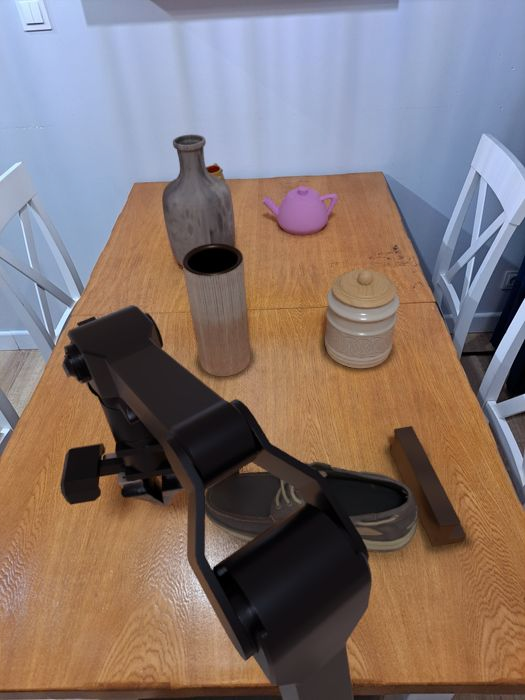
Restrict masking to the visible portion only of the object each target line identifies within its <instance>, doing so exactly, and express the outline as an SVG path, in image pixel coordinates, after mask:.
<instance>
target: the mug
mask: <svg viewBox="0 0 525 700" xmlns="http://www.w3.org/2000/svg"><path fill="white" fill-rule="evenodd" d="M206 169H207V171H208V172H209V173H210V174H211V175H214V176H216V177H219V178H220V179H222V180H223V181H225V182H226V178H225V176H224V173H223V172H224V169H223V168H221V166H220V165H219V164H218V163H216V162H213V164H210V165H208V166H206Z"/></svg>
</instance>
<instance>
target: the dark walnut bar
mask: <svg viewBox="0 0 525 700" xmlns="http://www.w3.org/2000/svg"><path fill="white" fill-rule="evenodd" d="M393 434H394V436H393V438H392V444H391V449H390V453H391V456H392V458H393V460H394V462H395V465H396V467H397V469H398V471H399V474H400V477H401V478H402V481H403V484H405V485H406V486H407V487H408V488H409V489H410V490H411V492H412V494H413V496H414V498H415V501H416V504H417V508H418V517H419V519H420V522H421V524H422V526H423V528H424V531H425V532H426V535H427V537H428V539H429V542H430V544H431V546H432V548H437V547H443V546H448V545H452V544H458V543H459V544H460V543H464V542H465V539H466V538H467V534H466V533H465V531H464V528H463V527H462V525H461V520H460V518H459V516H458V514H457V512H456V510H455V508H454V506H453V504H452V502H451V500H450V498H449V496H448V494H447V492H446V490H445V489H444V486H443V485H442V482H441V480H440V479H439V477H438V475H437V473H436V471H435V469H434V467H433V465H432V463H431V461H430V459H429V457H428V455H427V453H426V451H425V449H424V447H423V445H422V443H421V440H420V439H419V437H418V436H417V433H416V432H415V429H414V427H413V426H412V425H409V426H402V427H396V428H394V429H393Z"/></svg>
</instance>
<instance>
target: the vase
mask: <svg viewBox="0 0 525 700" xmlns="http://www.w3.org/2000/svg"><path fill="white" fill-rule="evenodd" d="M206 144H207V143H206V137H204V136H203V135H200V134H183V135H179V136H176V138H174V139H173V140H172V146H173V148H174V149H175V150H176V152H177V157H178V163H179V173H178V175H177V177H176V178H174V179H173V180H171V181H170V182H169V183H168V184H167V185H166V186H165V187H164V188H163V191H162V198H161V199H162V202H161V204H162V211H163V212H162V213H163V218H164V219H163V220H164V224H165V229H166V233H167V234H166V235H167V239H168V242H169V245H170V249H171V252H172V254H173V257H174V258H175V261H176V262H177V263H178V264H179V265H181V266H182V267H183V264H182V262H183V258H184V256H185V255H186V254H187V253H188V252H189V251H191V250H192V249H194V248H196V247H199V246H202V245H206V244H214V243H220V244H227V245H231V246H233V247H235V248H236V246H235V245H236V226H235V225H236V223H235V222H236V221H235V213H234V202H233V197H232V191H231V190H230V187H229V185H228V183H226V180H225V181H223V180H222V179H220V178H219V177H216V176H214V175H211V174H210V173H209V172H208V171H207V169H206V167H207V166H206V162H205V153H204V148H205V146H206Z"/></svg>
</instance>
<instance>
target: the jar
mask: <svg viewBox="0 0 525 700" xmlns="http://www.w3.org/2000/svg"><path fill="white" fill-rule="evenodd" d="M331 285H332V286H331V287H330V289H329V291H328V292H327V295H326V302H327V307H326V311H325V315H326V323H325V324H326V325H325V326H326V327H325V333H324V345H325V350H326V352H327V355H328V356H329V357H330V358H331V359H332V360H333V361H334V362H336V363H338V364H340V365H342V366H344V367H349V368H351V369H368V368H373V367H376V366H379V365H380V364H382V363H383V362H385V361H386V359H388V357H389V355H390V353H391V351H392V348H393V344H394V343H393V341H394V339H393V337H394V332H395V327H396V323H397V321H398V314H397V311H398V310H399V307H400V303H401V302H400V297H399V294H398V291H397V290H398V289H397V285H396V283H395V282H394V281H393V280H392V279H391V278H389V277H388V276H386V274H385V275H384V274H383V273H381V272H379V271H375V270H372V269H362V268H361V269H353V270H350V271H347V272H344V273H342V274H340V275H338V276H337V277H336V278H335V279H334V281H333V282H332V284H331Z"/></svg>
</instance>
